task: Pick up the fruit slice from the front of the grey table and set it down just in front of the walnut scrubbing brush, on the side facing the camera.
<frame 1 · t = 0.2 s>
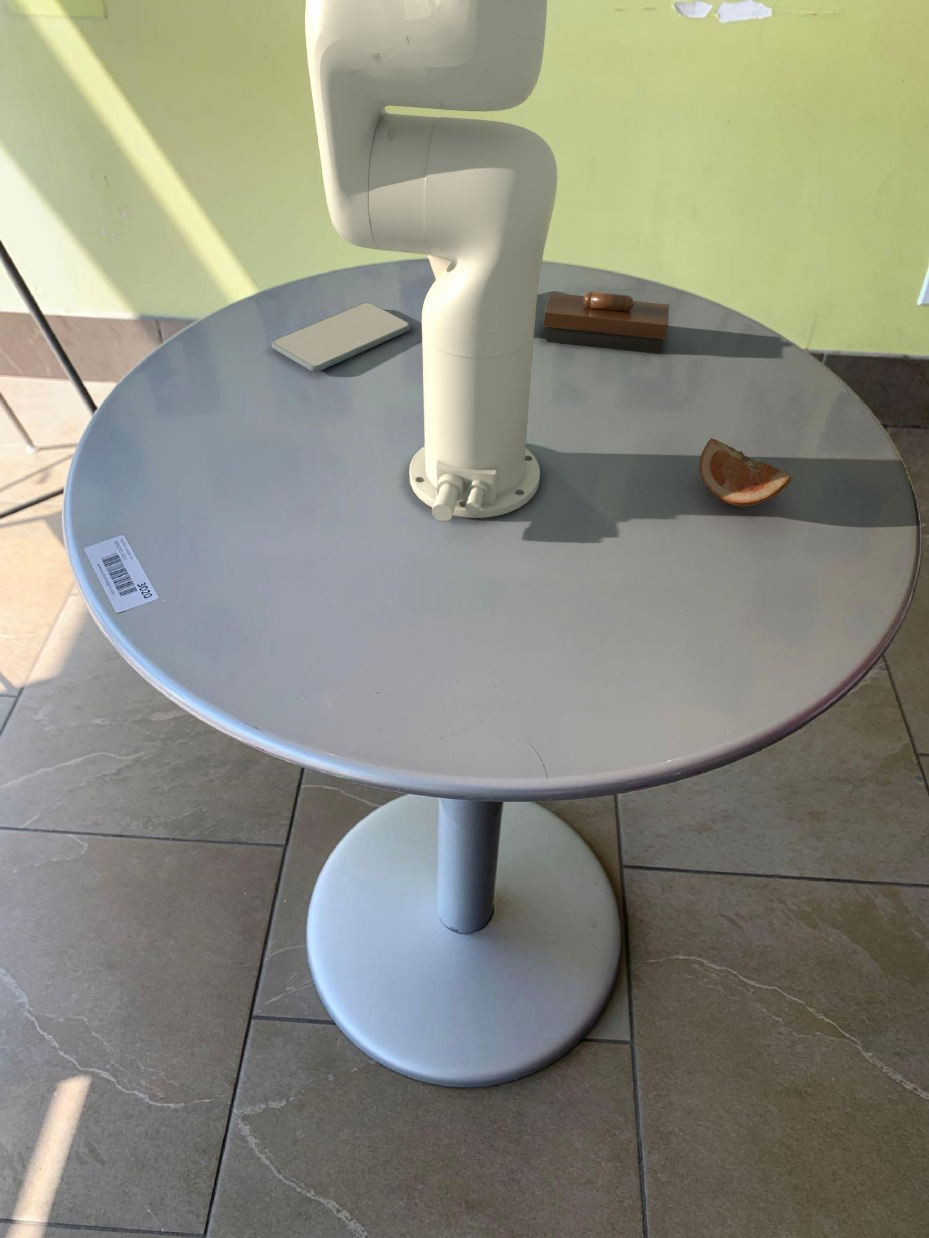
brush: (603, 338, 107), on the table
smartphone: (342, 341, 106), on the table
ice cream cone: (459, 312, 112), on the table
fruit slice: (735, 500, 86), on the table
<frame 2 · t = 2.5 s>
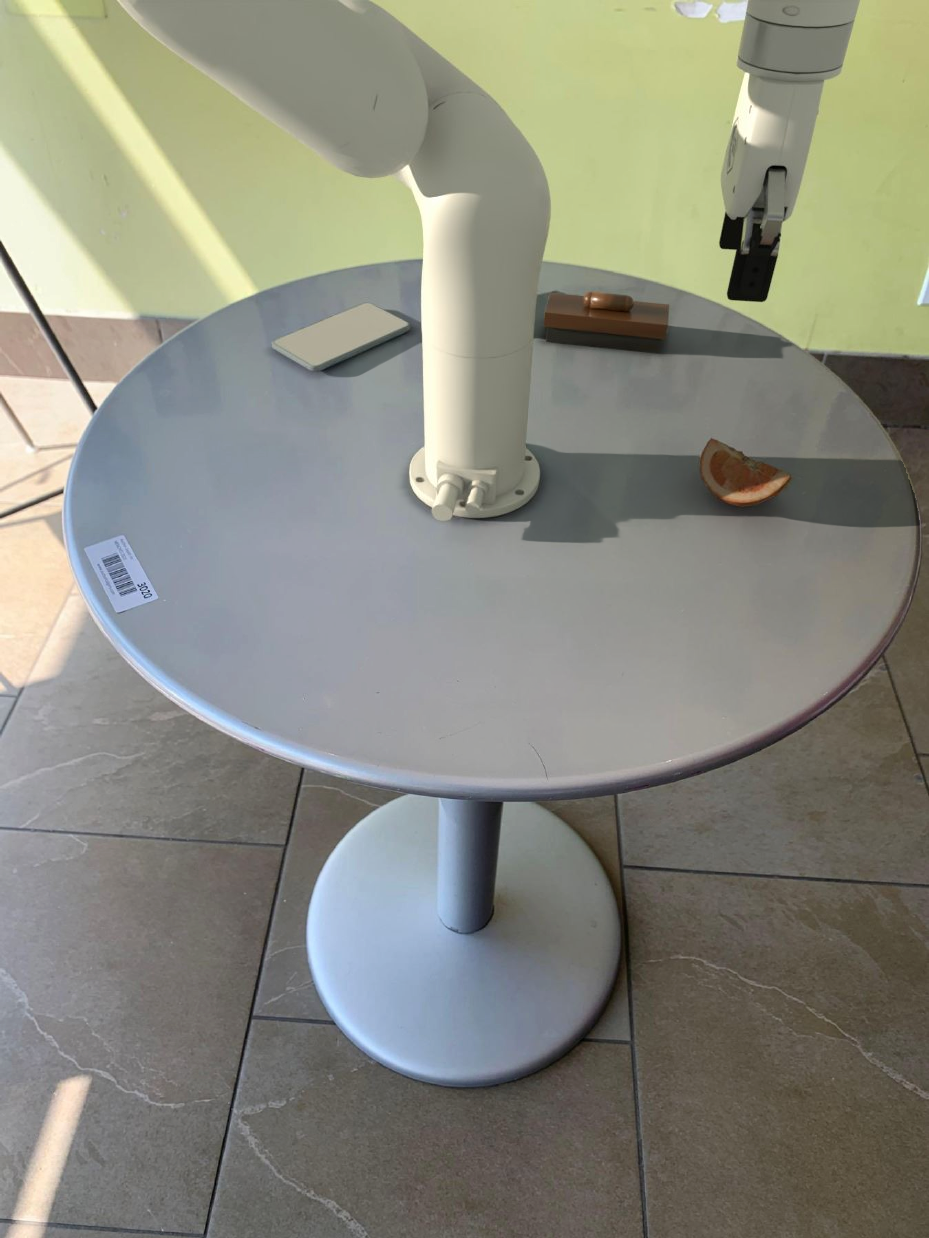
hand: (741, 273, 78), 19 cm above the table, tool pointing down, fingers open, 9 cm apart
nothing on the table moved.
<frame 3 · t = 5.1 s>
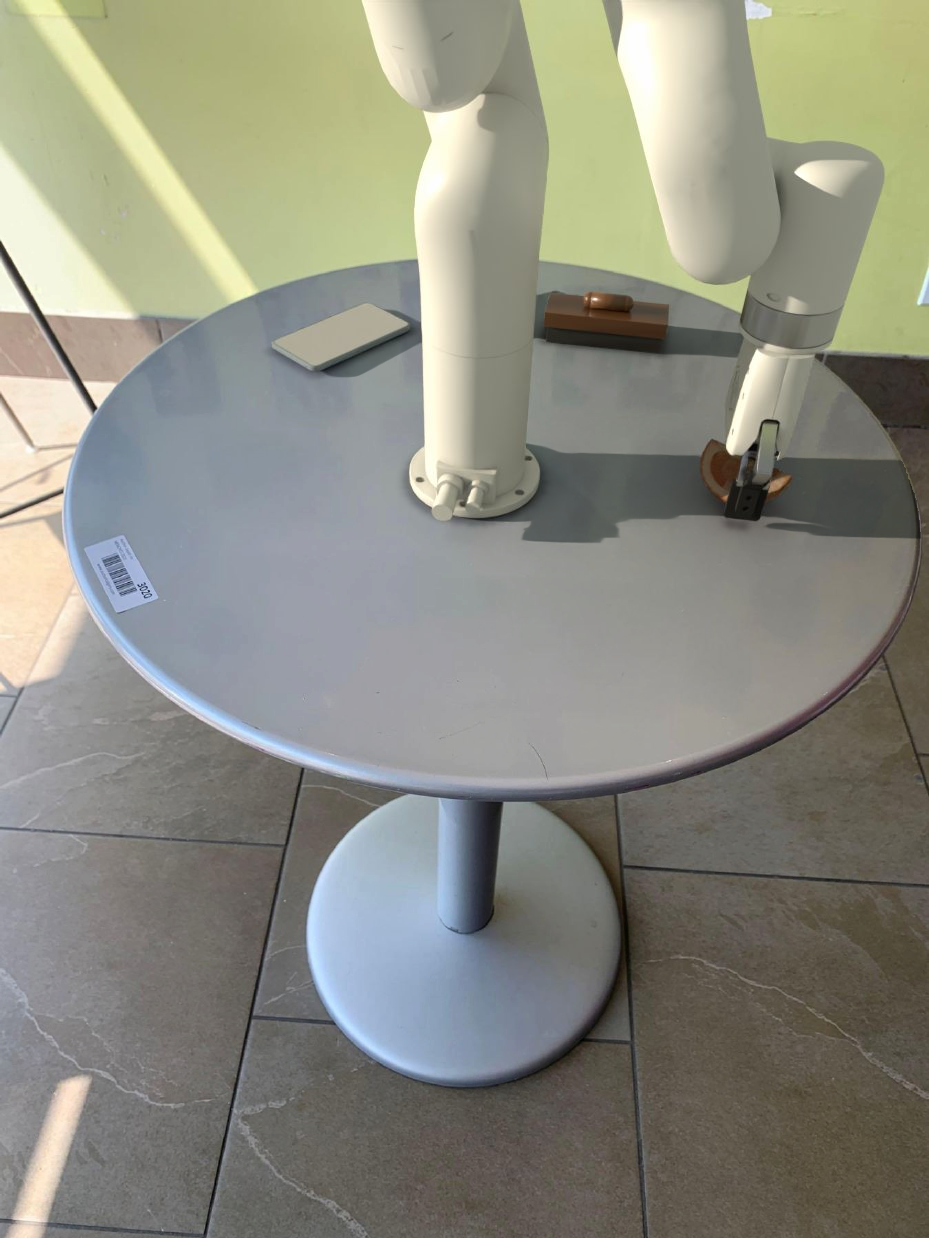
hand: (740, 489, 85), 1 cm above the table, tool pointing down, fingers closed on fruit slice, 7 cm apart
fruit slice: (736, 501, 86), on the table, touching gripper
everything else where it was.
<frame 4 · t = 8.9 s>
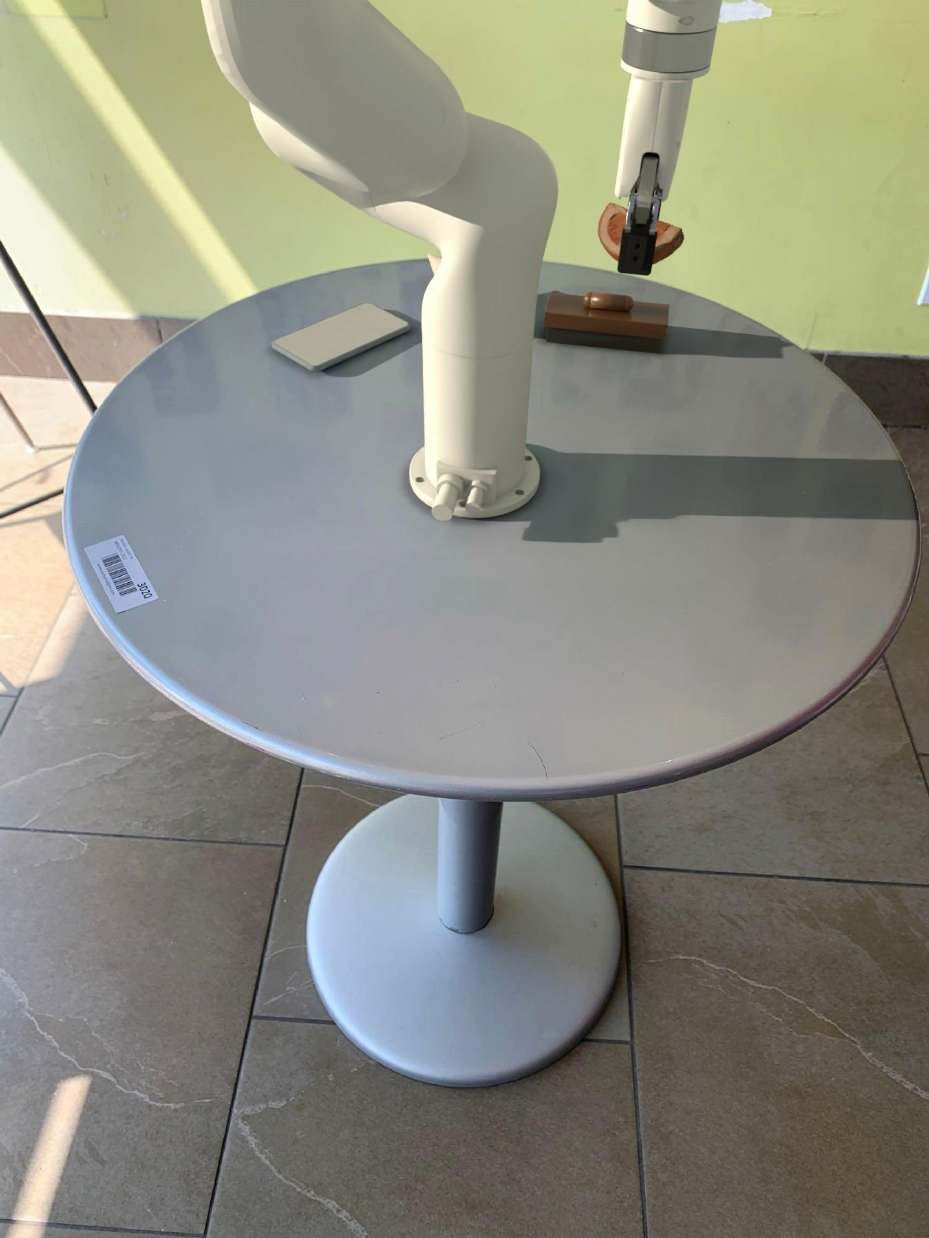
hand: (636, 253, 89), 15 cm above the table, tool pointing down, fingers closed on fruit slice, 7 cm apart
fruit slice: (634, 267, 90), point 14 cm above the table, touching gripper
everything else where it was.
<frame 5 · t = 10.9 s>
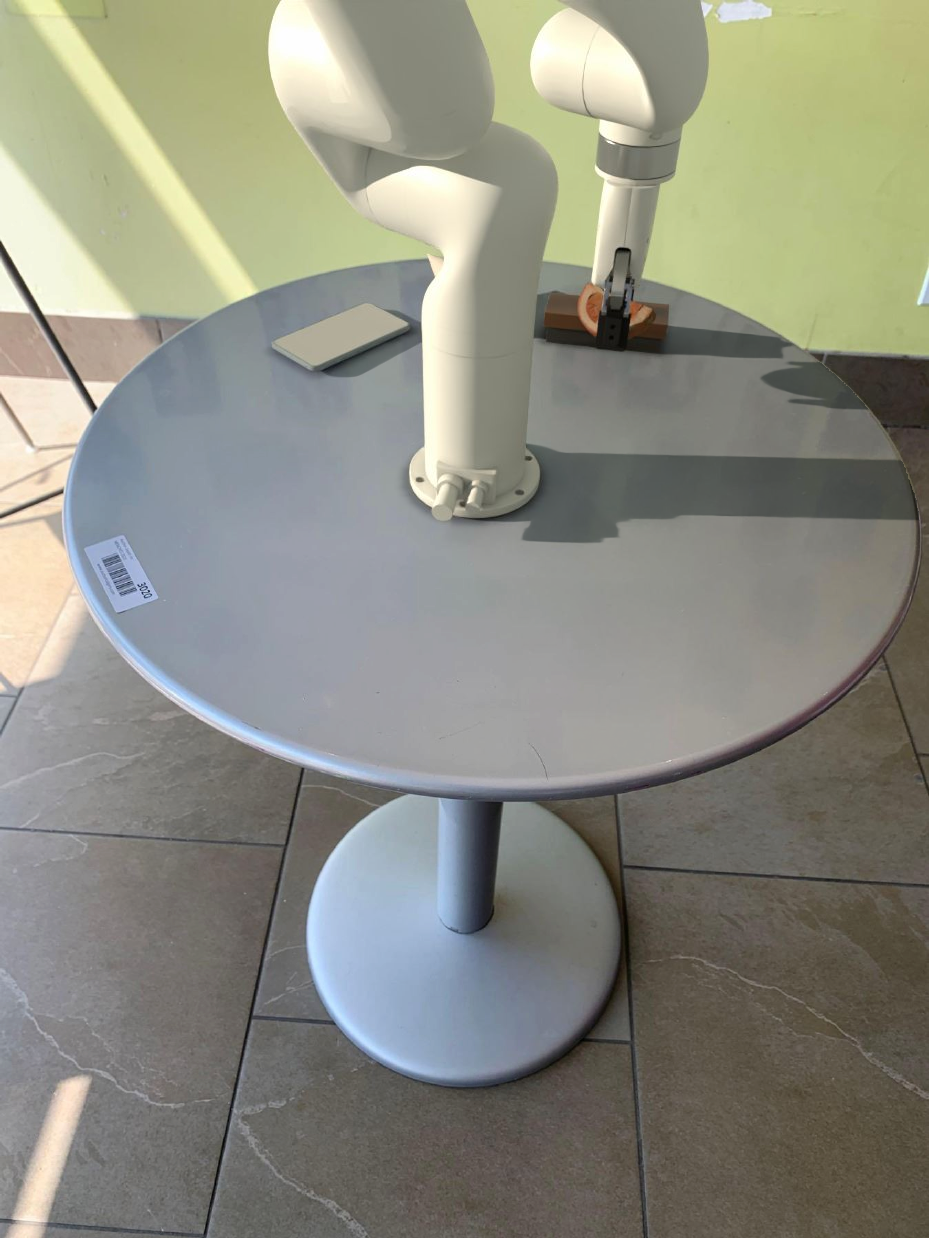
hand: (613, 328, 97), 6 cm above the table, tool pointing down, fingers closed on fruit slice, 7 cm apart
fruit slice: (611, 340, 98), point 5 cm above the table, touching gripper
everything else where it was.
when the fingers open (1 cm above the table, at t = 12.7 s): fruit slice stays where it is, on the table.
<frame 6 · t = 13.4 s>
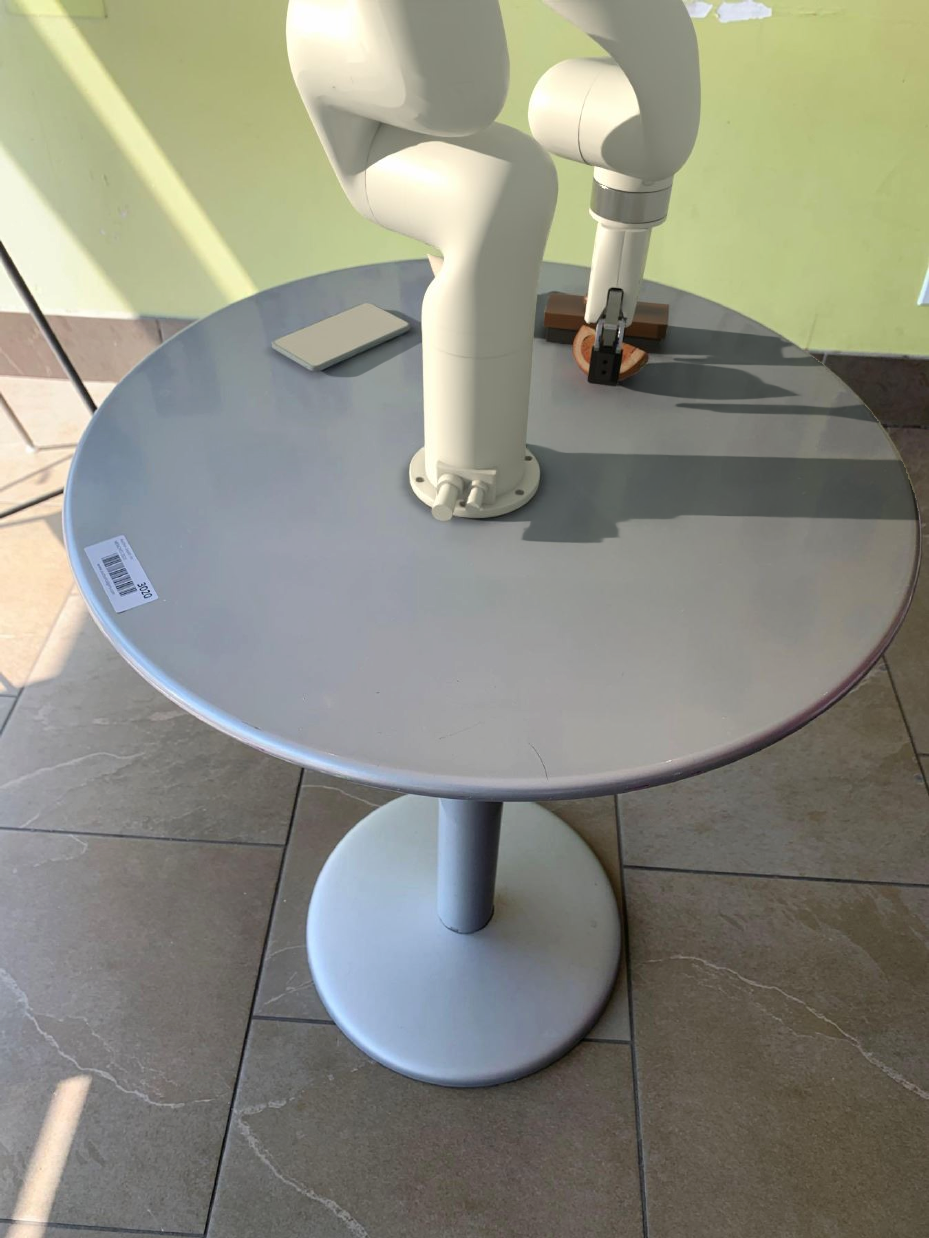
hand: (606, 360, 99), 2 cm above the table, tool pointing down, fingers open, 9 cm apart
fruit slice: (606, 380, 101), on the table
everything else where it was.
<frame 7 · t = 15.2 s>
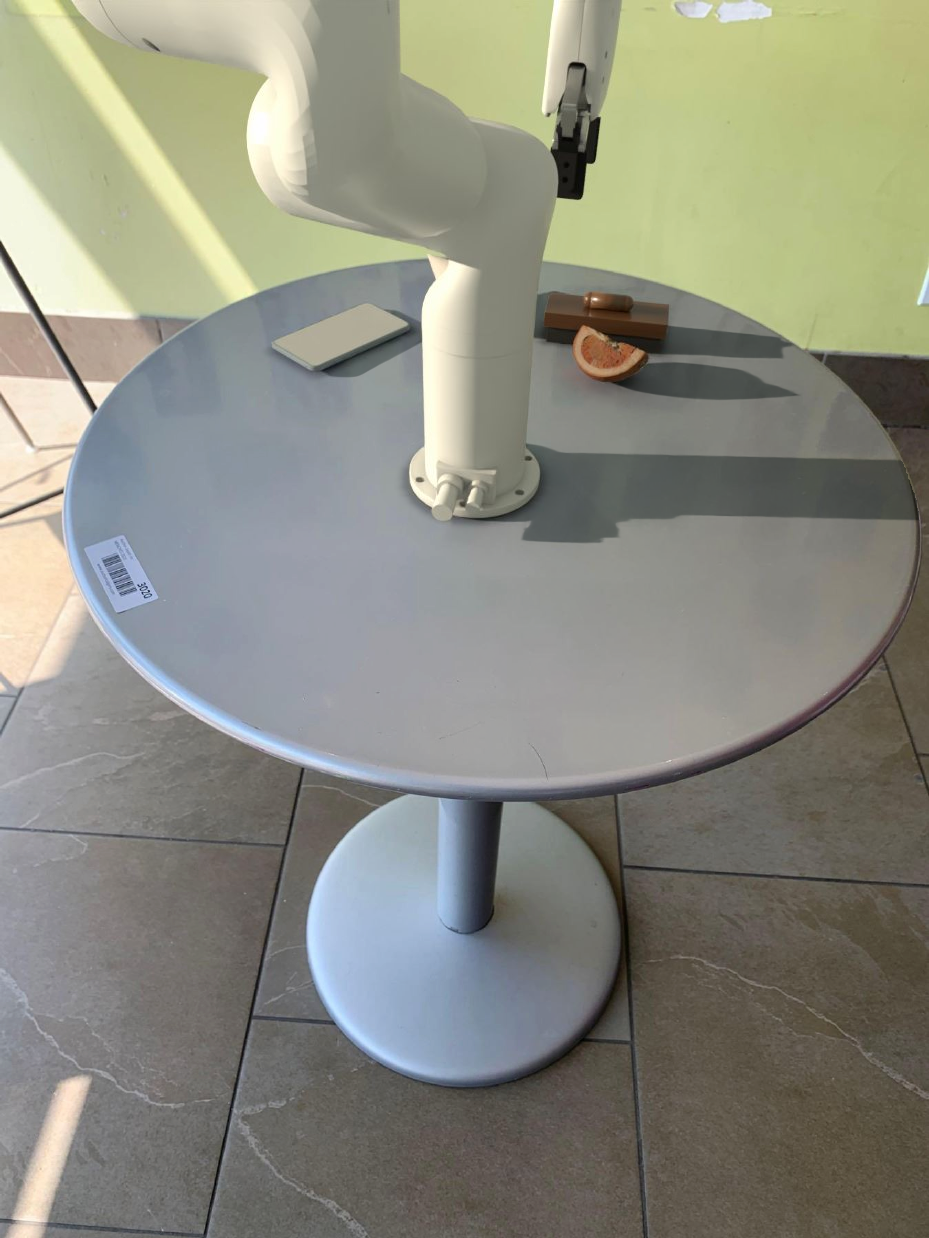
hand: (572, 179, 84), 22 cm above the table, tool pointing down, fingers open, 9 cm apart
nothing on the table moved.
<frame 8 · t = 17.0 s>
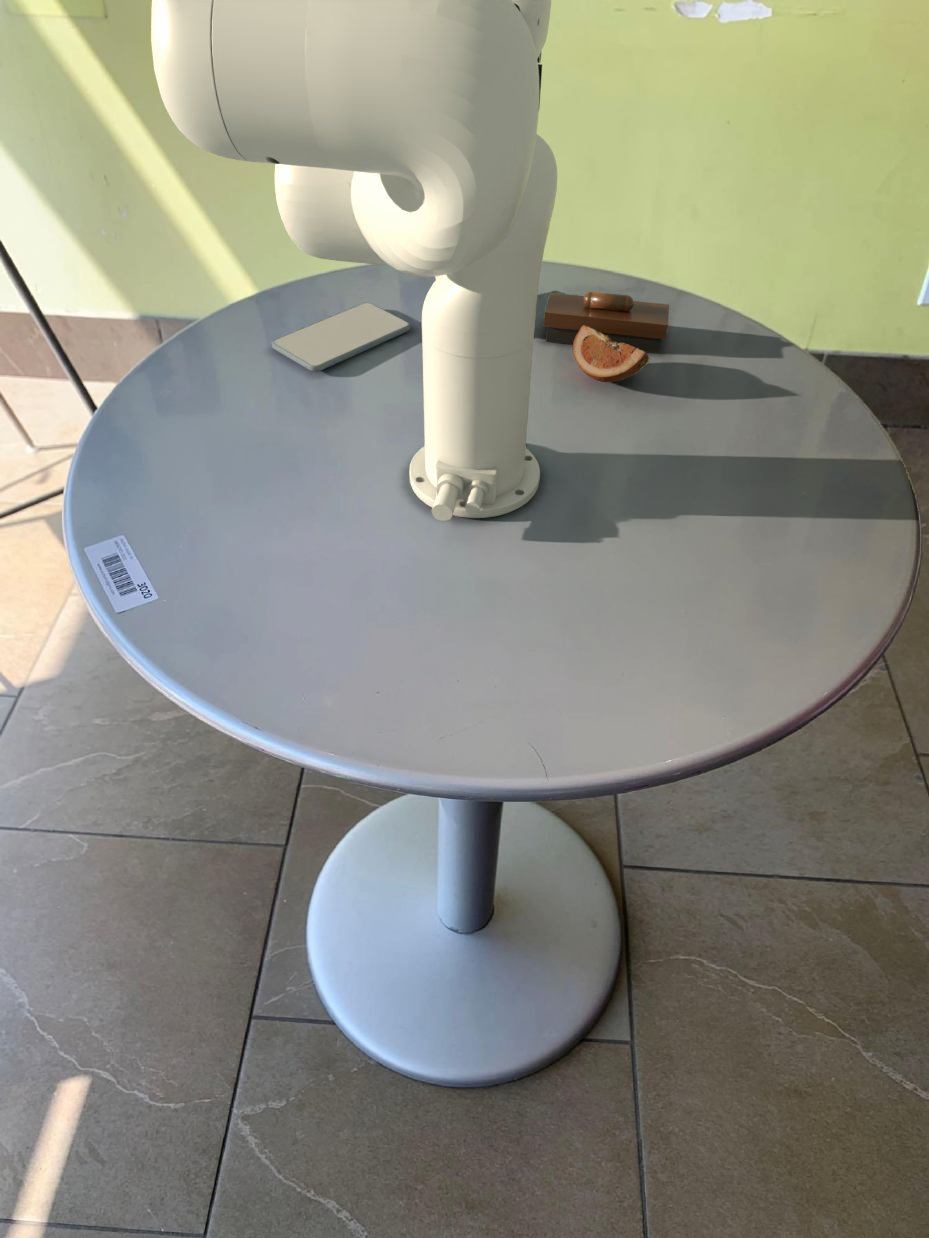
hand: (513, 131, 80), 26 cm above the table, tool pointing down, fingers open, 9 cm apart
nothing on the table moved.
at the end: fruit slice inside the target area on the table beside the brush (1.3 cm from its centre), on the table; the gripper is holding nothing; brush moved 0.0 cm from its start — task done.
